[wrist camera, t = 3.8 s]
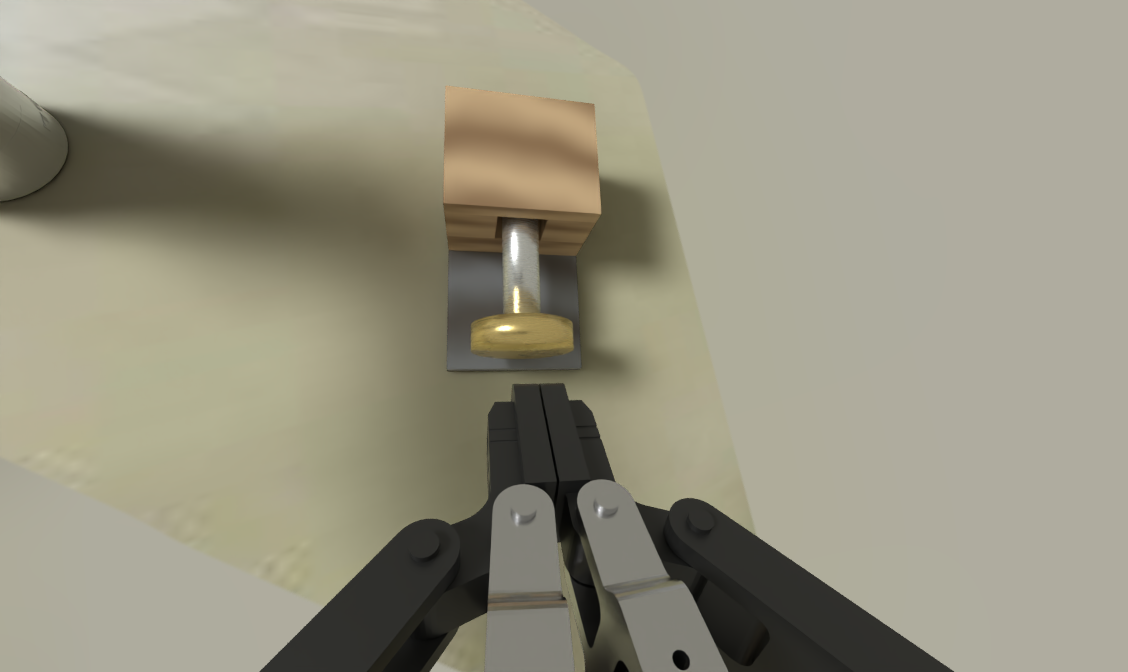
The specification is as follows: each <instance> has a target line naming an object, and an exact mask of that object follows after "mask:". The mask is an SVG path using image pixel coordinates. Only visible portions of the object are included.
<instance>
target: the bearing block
mask: <svg viewBox="0 0 1128 672" xmlns="http://www.w3.org/2000/svg"><path fill="white" fill-rule="evenodd" d="M443 205H444V213H445V222H446V231H447V239H448V248H449V268H448V329H447V371H487V370H571V369H580V368H581V348H580V327H579V307H578V287H577V267H576V255H577V253H578V252H579V250H580V248H581V247H582V245H583V243H584V242H585V240H586V239H587V237H588V235H589V234H590V232H591V230H592V229H593V227H594V225H595V224H596V222H597V220H598V219H599V217H600V215H601V201H600V185H599V169H598V154H597V138H596V122H595V107H594V104H590V103H582V102H574V101H566V100H558V99H550V98H542V97H534V96H526V95H517V94H509V93H501V92H493V91H485V90H477V89H469V88H461V87H453V86H446V92H445V143H444V193H443ZM502 217H514V218H530V219H538V238H539V271H540V304H541V313H543V314H551V315H557V316H561V317H564V318H567V319H569V320H570V321H571V322H572V323H573V345H574V349H573V351H571V352H569V353H566V354H563V355H558V356H553V357H545V358H533V359H499V358H488V357H482V356H478V355H475V354H473V353H471V324H472V323H473V322H474V321H476V320H478V319H480V318H483V317H487V316H492V315H498V314H503V260H502Z"/></svg>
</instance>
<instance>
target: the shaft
mask: <svg viewBox="0 0 1128 672" xmlns="http://www.w3.org/2000/svg"><path fill="white" fill-rule="evenodd" d="M502 260H503V314H498V315H492V316H487V317H483V318H480V319H478V320H476V321H474V322H473V323H472V324H471V353H473V354H475V355H478V356H482V357H488V358H499V359H533V358H545V357H553V356H558V355H563V354H566V353H569V352H571V351H573V349H574V345H573V323H572V322H571V321H570V320H569V319H567V318H564V317H561V316H557V315H551V314H543V313H541V304H540V271H539V238H538V219H530V218H514V217H502Z"/></svg>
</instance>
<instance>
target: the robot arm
mask: <svg viewBox="0 0 1128 672" xmlns="http://www.w3.org/2000/svg"><path fill="white" fill-rule="evenodd" d="M67 152H68V141H67V137H66V134H65V131H64V130H63V128H62V126H61V125H60V123H59V122H58V121H57V120H56V119H55V118H54V117H53V116H52V115H51V114H49V113H48V112H47V111H45V110H44V109H43V108H41V107H40V106H39V105H38V104H37V103H35V102H34V101H33V100H32V99H31V98H29V97H28V96H27V95H25V94H24V93H22V92H21V91H19V90H18V89H16V88H15V87H14V86H12V85H11V84H10V83H8V82H7V81H6V80H4V79H3V78H2V77H1V76H0V201H6V200H12V199H15V198H19V197H22V196H26V195H28V194H30V193H32V192H34V191H36V190H38V189H40V188H41V187H43V186H44V185H46V184H47V183H48V182H50V181H51V180H52V179H53V178H54V177H55V176H56V175H57V173H58V172H59V171H60V169H61V168H62V166H63V164H64V163H65V160H66V156H67ZM596 426H597V425H596V422H595V419H594V416H593V413H592V411H591V410H590V409H589V408H588V407H587V406H586V405H585V404H584V403H583V402H582V400H569V399H568V396H567V392H566V389H565V385H564V384H563V383H556V384H539V385H538V384H513V385H512V395H511V402H495V403H494V405H493V407H492V409H491V410H490V412H489V414H488V433H487V476H488V500H487V502H486V504H485V505H484V507H483V508H482V509H481V510H480V511H479V512H477V513H476V514H475V515H473V516H472V517H470V518H468V519H465V520H463V521H460V522H458V523H455V524H453V525H450V524H448V523H446V522H444V521H442V520H438V519H424V520H419V521H416V522H414V523H412V524H410V525H408V526H406V527H405V528H404V529H402V530H401V531H400V532H399V533H398V534H397V535H396V536H395V537H394V538H393V539H392V540H391V541H390V542H389V543H388V544H387V545H386V546H385V547H384V548H383V549H382V550H381V551H380V552H379V553H378V554H377V555H376V556H375V557H374V558H373V559H372V560H371V561H370V562H369V563H368V564H367V565H366V566H365V567H364V568H363V569H362V570H361V571H360V572H359V573H358V574H357V575H356V576H355V577H354V578H353V579H352V580H351V581H350V582H349V583H348V584H347V585H346V586H345V587H344V588H343V589H342V590H341V591H340V592H339V593H338V594H337V595H336V596H335V597H334V598H333V599H332V600H331V601H330V602H329V603H328V604H327V605H326V606H325V607H324V608H323V609H322V610H321V611H320V612H319V613H318V614H317V615H316V616H315V617H314V618H313V619H312V620H311V621H310V622H309V623H308V624H307V625H306V626H305V627H304V628H303V629H302V630H301V631H300V632H299V633H298V634H297V635H296V636H295V637H294V638H293V639H292V640H291V641H290V642H289V643H288V644H287V645H286V646H285V647H284V648H283V649H282V650H281V651H280V652H279V653H278V654H277V655H276V656H275V657H274V658H273V659H272V660H271V661H270V662H269V663H268V664H267V665H266V666H265V667H264V668H263V669H262V670H261V671H260V672H430V670H431V669H432V667H433V666H434V664H435V663H436V662H437V660H438V659H439V657H440V656H441V654H442V653H443V652H444V650H445V649H446V647H447V646H448V644H449V643H450V642H451V640H452V639H453V637H454V636H455V634H456V632H457V630H458V628H459V626H461V625H463V624H465V623H467V622H469V621H471V620H473V619H475V618H477V617H479V616H481V615H483V614H485V613H487V632H486V652H485V671H484V672H575V669H574V659H573V649H572V639H571V629H570V619H569V610H568V604H567V600H566V598H565V597H563V595H562V589H561V579H560V568H559V556H558V545H557V543H558V542H561V547H562V553H563V559H564V576H565V580H566V584H567V588H568V592H569V596H570V600H571V604H572V608H573V612H574V616H575V620H576V624H577V628H578V632H579V636H580V640H581V644H582V648H583V653H584V659H585V672H954V671H952V670H951V669H949V668H948V667H947V666H945V665H943V664H942V663H940V662H939V661H938V660H936V659H935V658H933V657H932V656H930V655H929V654H928V653H926V652H925V651H923V650H922V649H920V648H919V647H917V646H916V645H914V644H913V643H912V642H910V641H909V640H907V639H906V638H904V637H903V636H901V635H900V634H898V633H897V632H895V631H894V630H893V629H891V628H890V627H888V626H887V625H885V624H883V623H882V622H881V621H879V620H878V619H876V618H875V617H874V616H872V615H871V614H869V613H868V612H866V611H865V610H863V609H862V608H860V607H859V606H858V605H856V604H854V603H853V602H852V601H850V600H849V599H847V598H846V597H844V596H843V595H841V594H840V593H839V592H837V591H836V590H834V589H833V588H831V587H830V586H828V585H827V584H825V583H824V582H822V581H821V580H820V579H818V578H817V577H815V576H814V575H812V574H811V573H809V572H808V571H806V570H805V569H803V568H802V567H801V566H799V565H798V564H796V563H795V562H793V561H792V560H790V559H789V558H787V557H786V556H784V555H783V554H781V553H780V552H779V551H777V550H776V549H774V548H773V547H771V546H770V545H768V544H767V543H765V542H764V541H763V540H761V539H760V538H758V537H757V536H755V535H754V534H752V533H751V532H749V531H748V530H747V529H745V528H744V527H742V526H741V525H739V524H738V523H736V522H735V521H733V520H732V519H730V518H729V517H728V516H726V515H725V514H723V513H722V512H720V511H719V510H717V509H716V508H714V507H713V506H711V505H710V504H708V503H706V502H704V501H701V500H698V499H693V498H685V499H681V500H679V501H677V502H675V503H674V504H673V505H672V507H671V509H670V511H667V510H663V509H658V508H654V507H650V506H645V505H642V504H639V503H637V502H635V501H634V499H633V497H632V496H631V494H630V493H629V492H628V491H627V490H626V489H625V488H624V487H623V486H621V485H620V484H618V483H616V482H615V479H614V476H613V473H612V470H611V467H610V464H609V461H608V458H607V455H606V452H605V449H604V446H603V443H602V440H601V439H600V434H599V431H598V428H597V427H596Z"/></svg>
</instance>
